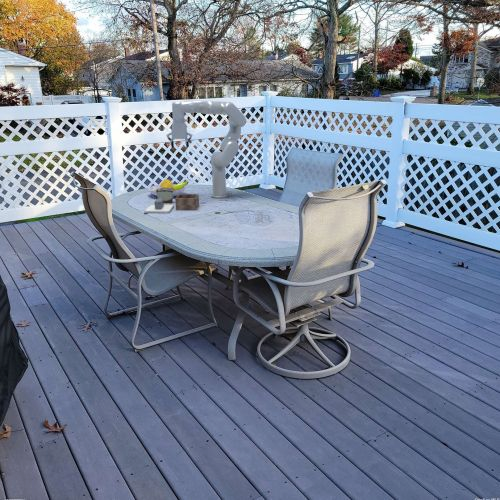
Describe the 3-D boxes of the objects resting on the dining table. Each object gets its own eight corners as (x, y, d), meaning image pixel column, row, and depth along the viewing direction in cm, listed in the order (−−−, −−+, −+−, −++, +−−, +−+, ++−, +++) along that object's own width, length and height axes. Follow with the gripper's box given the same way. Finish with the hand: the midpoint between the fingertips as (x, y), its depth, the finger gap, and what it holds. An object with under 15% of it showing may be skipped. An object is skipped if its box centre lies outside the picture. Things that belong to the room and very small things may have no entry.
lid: (173, 206, 315) (173, 197, 313) (168, 212, 301) (168, 203, 299) (150, 206, 316) (150, 197, 314) (145, 212, 302) (144, 203, 300)
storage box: (199, 205, 320) (198, 194, 318) (196, 210, 308) (195, 198, 305) (179, 205, 321) (179, 194, 318) (176, 210, 309) (175, 198, 306)
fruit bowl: (142, 198, 341) (141, 182, 337) (160, 190, 365) (158, 175, 362) (178, 201, 333) (177, 185, 329) (194, 192, 358) (193, 177, 354)
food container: (176, 202, 331) (175, 187, 327) (174, 204, 325) (173, 189, 322) (158, 201, 332) (157, 187, 329) (156, 203, 326) (155, 189, 323)
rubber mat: (174, 207, 316) (174, 206, 316) (169, 214, 301) (169, 213, 300) (150, 207, 317) (150, 206, 316) (144, 214, 302) (144, 212, 301)
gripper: (192, 120, 320) (193, 147, 326) (166, 120, 321) (168, 147, 326) (190, 121, 313) (192, 148, 318) (164, 121, 314) (166, 148, 319)
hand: (180, 147), depth 322 cm, fingers open, 9 cm apart
